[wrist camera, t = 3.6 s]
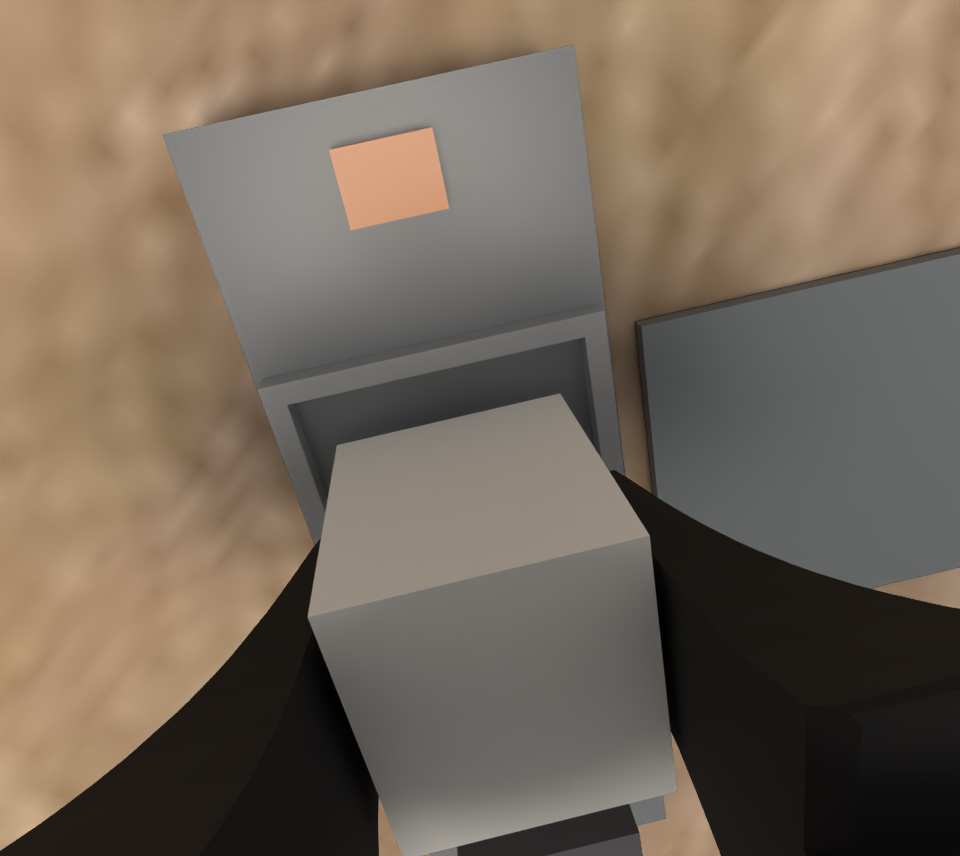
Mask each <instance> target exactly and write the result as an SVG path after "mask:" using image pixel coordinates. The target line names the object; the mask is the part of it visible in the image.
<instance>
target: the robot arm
mask: <svg viewBox="0 0 960 856" xmlns="http://www.w3.org/2000/svg"><path fill="white" fill-rule="evenodd" d="M609 472H610V473H611V475H612V477H613V478H614V480H615V481H616V483H617V484H618V486H619V488H620V489H621V491H622V492H623V494H624V496H625V497H626V499H627V500H628V502H629V503H630V505H631V507H632V508H633V510H634V511H635V513H636V515H637V516H638V518H639V519H640V521H641V523H642V524H643V526H644V527H645V529H646V530H647V532H648V534H649V535H650V543H651V553H652V562H653V572H654V581H655V590H656V600H657V609H658V619H659V628H660V637H661V647H662V656H663V666H664V675H665V684H666V694H667V703H668V713H669V722H670V730H671V733H672V735H673V737H674V739H675V741H676V743H677V745H678V748H679V750H680V752H681V755H682V757H683V760H684V762H685V765H686V767H687V770H688V772H689V775H690V777H691V780H692V782H693V785H694V787H695V790H696V792H697V795H698V797H699V800H700V802H701V805H702V807H703V810H704V813H705V815H706V818H707V820H708V823H709V825H710V828H711V831H712V833H713V836H714V838H715V841H716V844H717V846H718V849H719V851H720V854H721V856H960V609H958V608H952V607H946V606H941V605H936V604H932V603H928V602H923V601H919V600H914V599H910V598H906V597H901V596H897V595H892V594H888V593H885V592H881V591H877V590H873V589H869V588H866V587H862V586H858V585H855V584H852V583H848V582H845V581H842V580H839V579H835V578H832V577H829V576H826V575H822V574H819V573H816V572H813V571H810V570H807V569H805V568H802V567H799V566H796V565H793V564H791V563H788V562H786V561H783V560H781V559H778V558H776V557H773V556H771V555H768V554H766V553H763V552H761V551H758V550H756V549H753V548H751V547H749V546H747V545H744V544H742V543H740V542H738V541H736V540H734V539H732V538H730V537H728V536H726V535H724V534H722V533H720V532H718V531H716V530H714V529H712V528H710V527H708V526H706V525H704V524H702V523H700V522H699V521H697V520H695V519H693V518H691V517H689V516H688V515H686V514H684V513H682V512H681V511H679V510H677V509H676V508H674V507H672V506H671V505H669V504H667V503H666V502H664V501H662V500H661V499H659V498H658V497H656V496H654V495H653V494H651V493H650V492H648V491H647V490H645V489H644V488H642V487H640V486H639V485H637V484H636V483H634V482H633V481H631V480H630V479H628V478H627V477H625V476H623V475H622V474H620V473H619V472H617V471H616V470H612V471H609ZM320 541H321V538H320V539H319V541H318V542H317V543H316V545H315V546H314V547H313V549H312V550H311V552H310V553H309V554H308V556H307V557H306V559H305V560H304V562H303V563H302V564H301V566H300V567H299V569H298V570H297V572H296V573H295V574H294V576H293V577H292V579H291V580H290V582H289V583H288V584H287V586H286V587H285V588H284V590H283V591H282V592H281V594H280V595H279V597H278V598H277V599H276V601H275V602H274V603H273V605H272V606H271V608H270V609H269V610H268V612H267V613H266V614H265V615H264V617H263V618H262V619H261V620H260V622H259V623H258V624H257V625H256V626H255V628H254V629H253V630H252V631H251V633H250V634H249V635H248V636H247V638H246V639H245V640H244V641H243V642H242V644H241V645H240V646H239V647H238V649H237V650H236V651H235V652H234V654H233V655H232V656H231V657H230V658H229V659H228V660H227V661H226V663H225V664H224V665H223V666H222V667H221V668H220V669H219V670H218V671H217V672H216V674H215V675H214V676H213V677H212V678H211V679H210V680H209V681H208V682H207V683H206V684H205V685H204V686H203V687H202V688H201V689H200V690H199V691H198V692H197V693H196V694H195V695H194V696H193V697H192V698H191V699H190V700H189V701H188V702H187V703H186V704H185V705H184V706H183V707H182V708H181V709H180V710H179V711H178V712H177V713H176V714H175V715H174V716H172V717H171V718H170V719H169V720H168V721H167V722H166V723H165V724H164V725H162V726H161V727H160V728H159V729H158V730H157V731H156V732H155V733H153V734H152V735H151V736H150V737H149V738H148V739H147V740H146V741H145V742H143V743H142V744H141V745H140V746H139V747H138V748H137V749H136V750H134V751H133V752H132V753H131V754H130V755H129V756H128V757H126V758H125V759H124V760H123V761H122V762H120V763H119V764H118V765H117V766H115V767H114V768H113V769H112V770H110V771H109V772H108V773H107V774H105V775H104V776H103V777H102V778H100V779H99V780H98V781H97V782H96V783H94V784H93V785H92V786H90V787H89V788H88V789H86V790H85V791H84V792H82V793H81V794H80V795H78V796H77V797H76V798H75V799H73V800H72V801H71V802H69V803H68V804H67V805H65V806H64V807H63V808H61V809H60V810H59V811H57V812H56V813H54V814H53V815H52V816H50V817H49V818H48V819H46V820H45V821H43V822H42V823H41V824H39V825H38V826H36V827H35V828H33V829H32V830H30V831H29V832H27V833H26V834H25V835H23V836H22V837H20V838H19V839H17V840H16V841H14V842H13V843H11V844H10V845H8V846H7V847H5V848H4V849H2V850H1V851H0V856H379V844H378V800H379V795H378V793H377V790H376V788H375V785H374V783H373V780H372V778H371V775H370V773H369V770H368V768H367V765H366V763H365V760H364V758H363V755H362V753H361V750H360V748H359V745H358V743H357V740H356V738H355V735H354V733H353V730H352V728H351V725H350V723H349V720H348V718H347V715H346V713H345V710H344V708H343V705H342V703H341V700H340V698H339V695H338V692H337V690H336V687H335V685H334V682H333V680H332V677H331V675H330V672H329V670H328V667H327V665H326V662H325V660H324V657H323V655H322V652H321V650H320V647H319V645H318V642H317V640H316V637H315V635H314V632H313V630H312V627H311V625H310V622H309V620H308V612H309V606H310V600H311V594H312V588H313V582H314V577H315V571H316V565H317V559H318V553H319V547H320Z"/></svg>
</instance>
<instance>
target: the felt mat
mask: <svg viewBox="0 0 960 856" xmlns="http://www.w3.org/2000/svg"><path fill="white" fill-rule="evenodd" d="M636 332H637V342H638V352H639V362H640V372H641V382H642V392H643V402H644V412H645V422H646V432H647V443H648V453H649V463H650V473H651V483H652V493H653V495H654V496H656V497H658V498H659V499H661V500H662V501H664V502H666V503H667V504H669V505H671V506H672V507H674V508H676V509H677V510H679V511H681V512H682V513H684V514H686V515H688V516H689V517H691V518H693V519H695V520H697V521H699V522H700V523H702V524H704V525H706V526H708V527H710V528H712V529H714V530H716V531H718V532H720V533H722V534H724V535H726V536H728V537H730V538H732V539H734V540H736V541H738V542H740V543H742V544H744V545H747V546H749V547H751V548H753V549H756V550H758V551H761V552H763V553H766V554H768V555H771V556H773V557H776V558H778V559H781V560H783V561H786V562H788V563H791V564H793V565H796V566H799V567H802V568H805V569H807V570H810V571H813V572H816V573H819V574H822V575H826V576H829V577H832V578H835V579H839V580H842V581H845V582H848V583H852V584H855V585H858V586H862V587H866V588H869V589H871V588H876V587H880V586H884V585H888V584H892V583H897V582H901V581H905V580H909V579H913V578H918V577H922V576H926V575H930V574H934V573H939V572H943V571H947V570H951V569H955V568H960V248H957V249H952V250H948V251H944V252H939V253H935V254H931V255H926V256H922V257H917V258H913V259H909V260H904V261H900V262H895V263H891V264H887V265H882V266H878V267H873V268H869V269H865V270H860V271H856V272H852V273H847V274H843V275H838V276H834V277H830V278H825V279H821V280H816V281H812V282H808V283H803V284H799V285H795V286H790V287H786V288H781V289H777V290H773V291H768V292H764V293H759V294H755V295H751V296H746V297H742V298H737V299H733V300H729V301H724V302H720V303H716V304H711V305H707V306H702V307H698V308H694V309H689V310H685V311H680V312H676V313H672V314H667V315H663V316H659V317H654V318H650V319H645V320H641V321H637V322H636Z"/></svg>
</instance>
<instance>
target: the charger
mask: <svg viewBox="0 0 960 856" xmlns="http://www.w3.org/2000/svg"><path fill="white" fill-rule="evenodd" d="M308 620H309V622H310V625H311V627H312V630H313V632H314V635H315V637H316V640H317V642H318V645H319V647H320V650H321V652H322V655H323V657H324V660H325V662H326V665H327V667H328V670H329V672H330V675H331V677H332V680H333V682H334V685H335V687H336V690H337V692H338V695H339V698H340V700H341V703H342V705H343V708H344V710H345V713H346V715H347V718H348V720H349V723H350V725H351V728H352V730H353V733H354V735H355V738H356V740H357V743H358V745H359V748H360V750H361V753H362V755H363V758H364V760H365V763H366V765H367V768H368V770H369V773H370V775H371V778H372V780H373V783H374V785H375V788H376V790H377V793H378V795H379V798H380V800H381V803H382V805H383V808H384V810H385V813H386V815H387V818H388V820H389V823H390V825H391V828H392V831H393V833H394V836H395V838H396V841H397V843H398V846H399V848H400V851H401V853H402V856H422V855H426V854H430V853H434V852H438V851H442V850H446V849H450V848H454V847H458V846H462V845H466V844H470V843H474V842H478V841H482V840H486V839H490V838H494V837H498V836H502V835H506V834H510V833H514V832H518V831H522V830H526V829H530V828H534V827H538V826H542V825H546V824H550V823H554V822H558V821H562V820H566V819H570V818H574V817H578V816H582V815H586V814H590V813H594V812H598V811H602V810H606V809H610V808H614V807H618V806H622V805H626V804H630V803H634V802H638V801H642V800H646V799H650V798H654V797H658V796H662V795H666V794H670V793H674V792H677V788H676V778H675V769H674V760H673V750H672V741H671V731H670V722H669V713H668V703H667V694H666V684H665V675H664V666H663V656H662V647H661V637H660V628H659V619H658V609H657V600H656V590H655V581H654V572H653V562H652V553H651V543H650V535H649V534H648V532H647V530H646V529H645V527H644V526H643V524H642V523H641V521H640V519H639V518H638V516H637V515H636V513H635V511H634V510H633V508H632V507H631V505H630V503H629V502H628V500H627V499H626V497H625V496H624V494H623V492H622V491H621V489H620V488H619V486H618V484H617V483H616V481H615V480H614V478H613V477H612V475H611V473H610V472H609V470H608V469H607V467H606V465H605V464H604V462H603V461H602V459H601V457H600V456H599V454H598V453H597V451H596V450H595V448H594V446H593V445H592V443H591V442H590V440H589V438H588V437H587V435H586V434H585V432H584V430H583V429H582V427H581V426H580V424H579V423H578V421H577V419H576V418H575V416H574V415H573V413H572V411H571V410H570V408H569V407H568V405H567V404H566V402H565V400H564V399H563V397H562V396H561V394H560V393H559V394H555V395H551V396H546V397H542V398H538V399H534V400H529V401H525V402H521V403H516V404H512V405H508V406H503V407H499V408H495V409H491V410H486V411H482V412H478V413H473V414H469V415H465V416H460V417H456V418H452V419H448V420H443V421H439V422H435V423H430V424H426V425H422V426H417V427H413V428H409V429H405V430H400V431H396V432H392V433H387V434H383V435H379V436H374V437H370V438H366V439H362V440H357V441H353V442H349V443H344V444H340V445H337V447H336V453H335V459H334V465H333V471H332V477H331V483H330V488H329V494H328V500H327V506H326V512H325V518H324V524H323V530H322V535H321V541H320V547H319V553H318V559H317V565H316V571H315V577H314V582H313V588H312V594H311V600H310V606H309V612H308Z"/></svg>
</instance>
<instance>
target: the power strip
mask: <svg viewBox="0 0 960 856" xmlns="http://www.w3.org/2000/svg"><path fill="white" fill-rule="evenodd" d="M163 137H164V140H165V142H166V145H167V148H168V150H169V153H170V156H171V159H172V161H173V164H174V167H175V169H176V172H177V175H178V177H179V180H180V183H181V185H182V188H183V191H184V194H185V196H186V199H187V202H188V204H189V207H190V210H191V212H192V215H193V218H194V221H195V223H196V226H197V229H198V231H199V234H200V237H201V239H202V242H203V245H204V248H205V250H206V253H207V256H208V258H209V261H210V264H211V266H212V269H213V272H214V275H215V277H216V280H217V283H218V285H219V288H220V291H221V293H222V296H223V299H224V301H225V304H226V307H227V310H228V312H229V315H230V318H231V320H232V323H233V326H234V328H235V331H236V334H237V337H238V339H239V342H240V345H241V347H242V350H243V353H244V355H245V358H246V361H247V364H248V366H249V369H250V372H251V374H252V377H253V380H254V382H255V385H256V388H257V391H258V393H259V396H260V399H261V401H262V404H263V407H264V409H265V412H266V415H267V418H268V420H269V423H270V426H271V428H272V431H273V434H274V436H275V439H276V442H277V445H278V447H279V450H280V453H281V455H282V458H283V461H284V463H285V466H286V469H287V471H288V474H289V477H290V480H291V482H292V485H293V488H294V490H295V493H296V496H297V498H298V501H299V504H300V507H301V509H302V512H303V515H304V517H305V520H306V523H307V525H308V528H309V531H310V534H311V536H312V539H313V542H314V544H315V545H316V543H317V542H318V541H319V539H320V538H321V535H322V530H323V524H324V518H325V512H326V506H327V500H328V494H329V488H330V483H331V477H332V471H333V465H334V459H335V453H336V447H337V445H340V444H344V443H349V442H353V441H357V440H362V439H366V438H370V437H374V436H379V435H383V434H387V433H392V432H396V431H400V430H405V429H409V428H413V427H417V426H422V425H426V424H430V423H435V422H439V421H443V420H448V419H452V418H456V417H460V416H465V415H469V414H473V413H478V412H482V411H486V410H491V409H495V408H499V407H503V406H508V405H512V404H516V403H521V402H525V401H529V400H534V399H538V398H542V397H546V396H551V395H555V394H559V393H560V394H561V396H562V397H563V399H564V400H565V402H566V404H567V405H568V407H569V408H570V410H571V411H572V413H573V415H574V416H575V418H576V419H577V421H578V423H579V424H580V426H581V427H582V429H583V430H584V432H585V434H586V435H587V437H588V438H589V440H590V442H591V443H592V445H593V446H594V448H595V450H596V451H597V453H598V454H599V456H600V457H601V459H602V461H603V462H604V464H605V465H606V467H607V469H608V470H609V471H612V470H616V471H617V472H619V473H620V474H622V475H623V476H625V469H624V461H623V452H622V444H621V435H620V427H619V419H618V410H617V402H616V393H615V385H614V377H613V368H612V360H611V351H610V343H609V334H608V326H607V318H606V309H605V301H604V292H603V284H602V276H601V267H600V259H599V250H598V242H597V233H596V225H595V217H594V208H593V200H592V191H591V183H590V175H589V166H588V158H587V149H586V141H585V132H584V124H583V116H582V107H581V99H580V90H579V82H578V74H577V65H576V57H575V48H574V45H570V46H566V47H561V48H556V49H552V50H547V51H543V52H538V53H534V54H529V55H524V56H520V57H515V58H511V59H506V60H502V61H497V62H492V63H488V64H483V65H479V66H474V67H470V68H465V69H460V70H456V71H451V72H447V73H442V74H438V75H433V76H428V77H424V78H419V79H415V80H410V81H405V82H401V83H396V84H392V85H387V86H383V87H378V88H373V89H369V90H364V91H360V92H355V93H351V94H346V95H341V96H337V97H332V98H328V99H323V100H319V101H314V102H309V103H305V104H300V105H296V106H291V107H287V108H282V109H277V110H273V111H268V112H264V113H259V114H255V115H250V116H245V117H241V118H236V119H232V120H227V121H222V122H218V123H213V124H209V125H204V126H200V127H195V128H190V129H186V130H181V131H177V132H172V133H168V134H163ZM663 819H666V814H665V806H664V797H663V795H662V796H658V797H654V798H650V799H646V800H642V801H638V802H634V803H630V804H626V805H622V806H618V807H614V808H610V809H606V810H602V811H598V812H594V813H590V814H586V815H582V816H578V817H574V818H570V819H566V820H562V821H558V822H554V823H550V824H546V825H542V826H538V827H534V828H530V829H526V830H522V831H518V832H514V833H510V834H506V835H502V836H498V837H494V838H490V839H486V840H482V841H478V842H474V843H470V844H466V845H462V846H458V847H454V848H450V849H446V850H442V851H438V852H434V853H430V856H643V855H642V848H641V841H640V835H639V831H638V828H637V826H638V825H642V824H646V823H650V822H654V821H659V820H663Z"/></svg>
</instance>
